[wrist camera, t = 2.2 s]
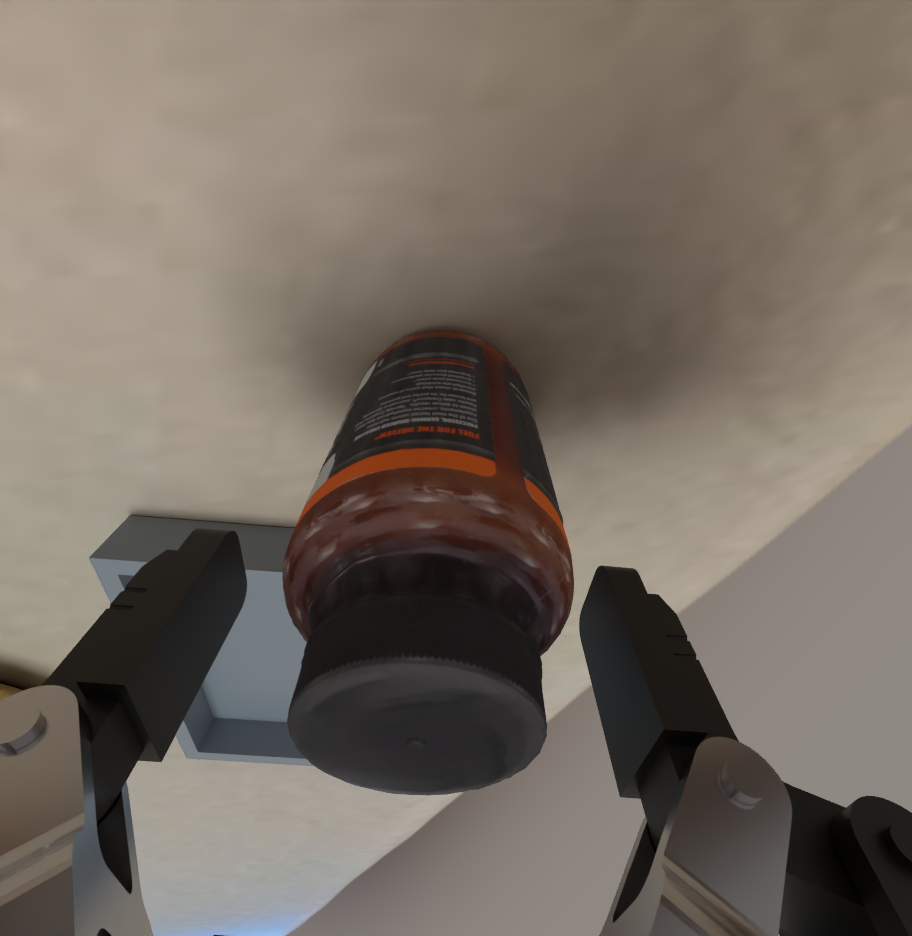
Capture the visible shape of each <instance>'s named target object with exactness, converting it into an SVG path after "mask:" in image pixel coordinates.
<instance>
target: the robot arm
mask: <svg viewBox="0 0 912 936" xmlns="http://www.w3.org/2000/svg"><path fill="white" fill-rule="evenodd" d="M246 592H247V577H246V572H245V567H244V562H243V557H242V552H241V547H240V542H239V537H238V534H237V533H236V532H235V531H230V530H219V529H208V528H197V529H195V530H193V531H192V532H191V534H190V535H189V536H188V537H187V539H186V540H185V541H184V543H183V544H182V545H181V546H180V548H179V549H178V550H166V551H164V552H163V553H161V554H160V555H158V556H157V557H155V558H154V559H152V560H151V561H149V562H148V563H146V564H145V565H143V566H142V567H141V568H140V569H139V571H138V572H137V573H136V574H135V575H134V577H133V578H132V579H131V580H130V581H129V583H128V584H127V585H126V586H125V590H124V591H121V592H120V593H119V595H118V596H117V597H116V598H115V599H114V600H113V602H112V603H111V604H110V605H111V606H110V608H109V609H106V610H105V611H104V612H103V614H102V615H101V616H100V617H99V618H98V620H97V621H96V622H95V623H94V624H93V626H92V627H91V628H90V629H89V630H88V631H87V633H86V634H85V635H84V636H83V637H82V639H81V640H80V641H79V642H78V643H77V645H76V646H75V647H74V648H73V649H72V651H71V652H70V653H69V654H68V655H67V657H66V658H65V659H64V660H63V661H62V662H61V664H60V665H59V666H58V667H57V668H56V670H55V671H54V672H53V673H52V674H51V676H50V677H49V678H48V679H47V680H46V681H45V682H44V683H43V684H42V685H41V686H38V687H34V688H30V689H27V690H24V691H21V692H18V693H16V694H14V695H11V696H9V697H7V698H6V699H4V700H2V701H0V936H153V932H152V929H151V925H150V922H149V919H148V916H147V913H146V910H145V907H144V903H143V899H142V894H141V887H140V880H139V872H138V864H137V856H136V849H135V841H134V833H133V825H132V817H131V810H130V802H129V794H128V787H127V783H126V780H127V779H128V777H129V775H130V773H131V772H132V770H133V768H134V766H135V765H136V763H137V761H138V760H139V761H153V762H162V760H163V758H164V756H165V754H166V752H167V750H168V748H169V747H170V745H171V743H172V741H173V739H174V737H175V735H176V733H177V731H178V729H179V727H180V726H181V724H182V722H183V720H184V718H185V716H186V714H187V712H188V710H189V708H190V706H191V705H192V703H193V701H194V699H195V697H196V695H197V693H198V691H199V689H200V687H201V685H202V683H203V682H204V680H205V678H206V676H207V674H208V672H209V670H210V668H211V666H212V664H213V662H214V661H215V659H216V657H217V655H218V653H219V651H220V649H221V647H222V645H223V643H224V641H225V640H226V638H227V636H228V634H229V632H230V630H231V628H232V626H233V624H234V622H235V620H236V619H237V617H238V615H239V613H240V611H241V609H242V607H243V604H244V601H245V597H246ZM579 629H580V638H581V642H582V646H583V650H584V654H585V658H586V662H587V666H588V670H589V674H590V678H591V682H592V686H593V690H594V694H595V698H596V702H597V706H598V710H599V714H600V718H601V722H602V726H603V731H604V735H605V739H606V742H607V747H608V751H609V755H610V759H611V763H612V766H613V770H614V775H615V779H616V782H617V787H618V791H619V795H620V797H627V798H640V799H641V801H642V805H643V808H644V812H645V815H646V817H645V818H644V820H643V822H642V824H641V827H640V829H639V832H638V835H637V838H636V841H635V843H634V846H633V849H632V851H631V854H630V857H629V859H628V862H627V865H626V868H625V870H624V873H623V875H622V878H621V881H620V884H619V887H618V889H617V892H616V895H615V897H614V900H613V903H612V906H611V908H610V911H609V914H608V916H607V919H606V921H605V924H604V926H603V929H602V931H601V933H600V935H599V936H778V934H779V935H780V936H912V813H911V812H909V811H908V810H906V809H904V808H903V807H901V806H899V805H897V804H895V803H893V802H891V801H889V800H886V799H883V798H880V797H875V796H865V797H860V798H859V799H857V800H856V801H854V802H853V803H852V804H850V805H849V806H848V807H847V808H845V807H843V806H840V805H838V804H835V803H833V802H830V801H828V800H825V799H823V798H820V797H818V796H815V795H813V794H810V793H808V792H805V791H803V790H801V789H798V788H796V787H793V786H791V785H789V784H787V783H784V782H783V781H782V780H781V779H780V777H779V776H778V774H777V773H776V772H775V770H774V769H773V768H772V767H771V766H770V764H769V763H767V761H766V760H765V759H763V758H762V757H761V756H760V755H759V754H758V753H756V752H755V751H754V750H752V749H751V748H749V747H748V746H746V745H744V744H742V743H740V742H739V741H738V739H737V737H736V736H735V734H734V732H733V730H732V728H731V726H730V724H729V722H728V720H727V718H726V716H725V714H724V711H723V709H722V707H721V705H720V703H719V701H718V699H717V697H716V695H715V693H714V691H713V689H712V687H711V685H710V683H709V681H708V678H707V677H706V674H705V672H704V670H703V668H702V666H701V664H700V662H699V660H696V654H695V651H694V649H693V647H692V645H691V643H690V642H689V641H687V635H686V633H685V631H684V629H683V627H682V625H681V623H680V621H679V618H678V616H677V614H676V613H675V612H674V611H673V610H672V609H671V608H670V607H669V606H668V605H667V604H666V603H665V601H664V600H663V599H662V598H661V597H660V596H659V595H656V594H647V591H646V589H645V587H644V585H643V582H642V580H641V578H640V575H639V574H638V572H637V571H636V570H635V569H633V568H622V567H611V566H599V567H598V568H597V570H596V572H595V575H594V577H593V580H592V583H591V586H590V588H589V591H588V594H587V596H586V599H585V602H584V604H583V607H582V610H581V614H580V622H579ZM214 936H222V935H214Z"/></svg>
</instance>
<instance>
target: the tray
mask: <svg viewBox="0 0 912 936" xmlns="http://www.w3.org/2000/svg"><path fill="white" fill-rule="evenodd" d="M197 528H208V529H219V530H230V531H235V532H236V533H237V534H238V537H239V542H240V547H241V552H242V557H243V562H244V567H245V572H246V577H247V592H246V597H245V601H244V604H243V607H242V609H241V611H240V613H239V615H238V617H237V619H236V620H235V622H234V624H233V626H232V628H231V630H230V632H229V634H228V636H227V638H226V640H225V641H224V643H223V645H222V647H221V649H220V651H219V653H218V655H217V657H216V659H215V661H214V662H213V664H212V666H211V668H210V670H209V672H208V674H207V676H206V678H205V680H204V682H203V683H202V685H201V687H200V689H199V691H198V693H197V695H196V697H195V699H194V701H193V703H192V705H191V706H190V708H189V710H188V712H187V714H186V716H185V718H184V720H183V722H182V724H181V726H180V727H179V729H178V731H177V733H176V737H177V740H178V742H179V744H180V746H181V748H182V750H183V752H184V754H185V756H186V758H189V759H206V760H222V761H238V762H255V763H271V764H288V765H304V766H314V765H312V764H311V763H310V762H309V761H308V760H307V759H306V758H305V757H304V756H303V755H302V754H301V753H300V752H299V751H298V749H297V748H296V746H295V744H294V742H293V740H292V739H291V738H290V734H289V729H288V723H287V718H288V711H289V707H290V703H291V700H292V697H293V693H294V690H295V687H296V684H297V681H298V677H299V674H300V670H301V661H302V659H303V656H304V649H305V647H306V644H307V642H306V641H305V640H304V639H303V637H302V636H301V634H300V633H299V631H298V629H297V628H296V627H295V626H294V624H293V622H292V619H291V617H290V615H289V613H288V610H287V607H286V603H285V596H284V591H283V580H282V578H283V564H284V558H285V554H286V551H287V547H288V544H289V542H290V539H291V536H292V534H293V531H294V529H295V528H283V527H270V526H257V525H245V524H232V523H219V522H206V521H194V520H181V519H168V518H155V517H143V516H129V517H128V518H127V519H126V520H125V521H124V522H123V523H122V524H121V525H120V526H119V527H118V528H117V529H116V530H115V531H114V532H113V533H112V534H111V536H110V537H109V538H108V539H107V540H106V541H105V542H104V543H103V544H102V545H101V546H100V547H99V548H98V549H97V550H96V551H95V552H94V553H93V554H92V555H91V556H90V557H89V559H90V561H91V563H92V565H93V567H94V569H95V571H96V573H97V575H98V578H99V580H100V582H101V584H102V586H103V588H104V590H105V592H106V594H107V596H108V598H109V600H110V602H111V603H112V602H113V600H114V599H115V598H116V597H117V596H118V595H119V593H120V592H121V591H124V590H125V586H126V585H127V584H128V583H129V581H130V580H131V579H132V578H133V577H134V575H135V574H136V573H137V572H138V571H139V569H140V568H141V567H142V566H143V565H145V564H146V563H148V562H149V561H151V560H152V559H154V558H155V557H157V556H158V555H160V554H161V553H163V552H164V551H166V550H178V549H179V548H180V546H181V545H182V544H183V543H184V541H185V540H186V539H187V537H188V536H189V535H190V534H191V532H192V531H193V530H195V529H197Z"/></svg>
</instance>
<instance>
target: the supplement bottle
mask: <svg viewBox="0 0 912 936" xmlns="http://www.w3.org/2000/svg"><path fill="white" fill-rule="evenodd" d="M282 580H283V591H284V596H285V603H286V607H287V610H288V613H289V615H290V617H291V619H292V622H293V624H294V626H295V627H296V628H297V629H298V631H299V633H300V634H301V636H302V637H303V639H304V640H305V641H306V642H307V644H306V647H305V649H304V656H303V659H302V661H301V670H300V674H299V677H298V681H297V684H296V687H295V690H294V693H293V697H292V700H291V703H290V707H289V711H288V718H287V723H288V729H289V734H290V738H291V739H292V740H293V742H294V744H295V746H296V748H297V749H298V751H299V752H300V753H301V754H302V755H303V756H304V757H305V758H306V759H307V760H308V761H309V762H310V763H311V764H312V765H314V766H315V767H317V768H318V769H320V770H322V771H323V772H325V773H327V774H329V775H331V776H334V777H336V778H338V779H341V780H343V781H345V782H347V783H350V784H353V785H356V786H360V787H364V788H369V789H373V790H378V791H382V792H387V793H393V794H407V795H442V794H451V793H456V792H464V791H468V790H474V789H480V788H483V787H486V786H489V785H492V784H495V783H498V782H500V781H502V780H504V779H506V778H510V777H512V776H513V775H514V774H516V773H518V772H519V771H521V770H523V769H525V768H526V767H527V766H528V765H529V764H530V763H531V761H532V760H533V759H534V758H535V757H536V756H537V755H538V754H539V753H540V751H541V748H542V746H543V743H544V741H545V739H546V736H547V735H546V731H547V723H546V715H545V707H544V700H543V693H542V683H541V680H542V661H541V658H540V656H541V655H542V654H544V653H545V652H546V651H547V650H548V649H549V647H550V646H551V645H552V644H553V642H554V641H555V640H556V639H557V637H558V636H559V635H560V633H561V631H562V629H563V627H564V625H565V623H566V621H567V619H568V617H569V614H570V610H571V605H572V600H573V592H574V577H573V567H572V558H571V552H570V548H569V544H568V541H567V537H566V534H565V531H564V528H563V518H562V515H561V513H560V510H559V506H558V503H557V499H556V495H555V491H554V488H553V484H552V480H551V477H550V473H549V469H548V466H547V462H546V459H545V455H544V451H543V447H542V444H541V440H540V437H539V433H538V430H537V427H536V422H535V419H534V416H533V411H532V407H531V404H530V401H529V397H528V394H527V391H526V389H525V387H524V385H523V382H522V380H521V378H520V375H519V374H518V372H517V371H516V369H515V368H514V367H513V365H512V364H511V363H510V362H509V361H508V359H507V358H506V357H505V356H504V355H502V354H501V353H500V352H499V351H498V350H496V349H495V348H494V347H492V346H491V345H489V344H487V343H486V342H484V341H482V340H480V339H478V338H476V337H473V336H471V335H468V334H463V333H458V332H449V331H434V332H425V333H421V334H417V335H413V336H410V337H407V338H405V339H403V340H401V341H399V342H397V343H395V344H394V345H392V346H391V347H389V348H388V349H387V350H386V351H385V352H384V353H383V354H381V355H380V356H379V357H378V359H377V360H375V361H374V363H373V364H372V366H371V367H370V369H369V370H368V372H367V373H366V375H365V376H364V378H363V380H362V382H361V384H360V386H359V388H358V391H357V393H356V395H355V397H354V399H353V401H352V403H351V406H350V408H349V410H348V412H347V414H346V416H345V419H344V421H343V423H342V425H341V428H340V430H339V432H338V434H337V436H336V438H335V441H334V443H333V446H332V448H331V450H330V452H329V454H328V456H327V458H326V460H325V462H324V464H323V467H322V469H321V471H320V473H319V476H318V478H317V480H316V482H315V484H314V487H313V489H312V491H311V493H310V495H309V498H308V500H307V502H306V504H305V506H304V509H303V511H302V513H301V516H300V518H299V520H298V522H297V524H296V527H295V529H294V531H293V534H292V536H291V539H290V542H289V544H288V547H287V551H286V554H285V558H284V564H283V578H282Z"/></svg>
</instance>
